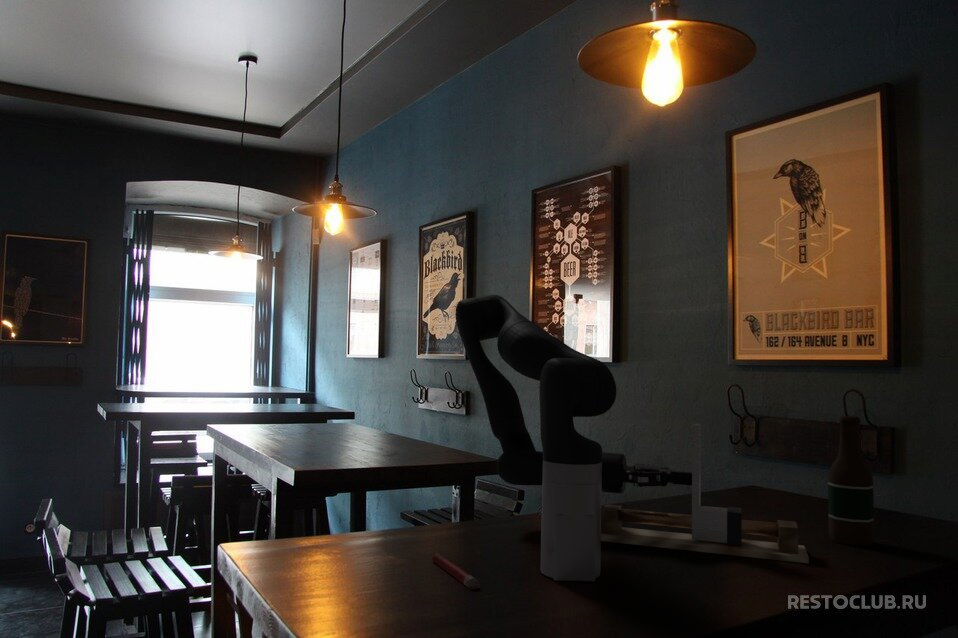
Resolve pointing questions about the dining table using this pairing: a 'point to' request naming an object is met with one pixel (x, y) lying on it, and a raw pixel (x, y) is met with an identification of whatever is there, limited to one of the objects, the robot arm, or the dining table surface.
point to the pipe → (686, 521)
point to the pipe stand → (757, 549)
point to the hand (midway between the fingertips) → (692, 478)
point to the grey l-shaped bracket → (704, 518)
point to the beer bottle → (850, 490)
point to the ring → (734, 526)
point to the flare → (456, 572)
